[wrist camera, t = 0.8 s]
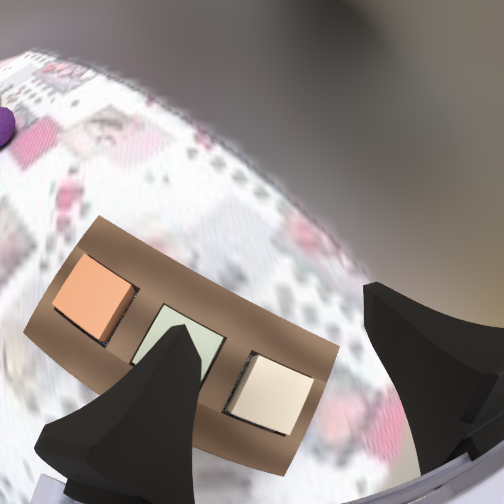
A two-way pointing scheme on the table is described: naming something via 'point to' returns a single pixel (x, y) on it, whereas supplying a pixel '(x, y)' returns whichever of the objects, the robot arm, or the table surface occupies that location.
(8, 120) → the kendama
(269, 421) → the cream button
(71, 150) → the table surface
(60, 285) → the button panel
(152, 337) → the sage button
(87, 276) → the terracotta button
